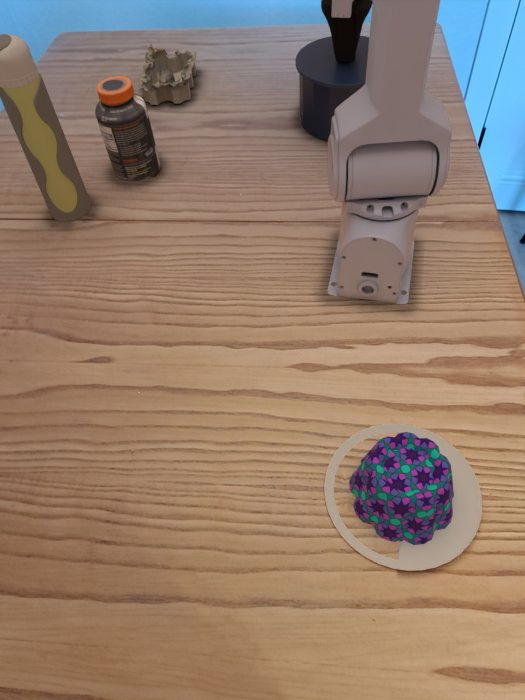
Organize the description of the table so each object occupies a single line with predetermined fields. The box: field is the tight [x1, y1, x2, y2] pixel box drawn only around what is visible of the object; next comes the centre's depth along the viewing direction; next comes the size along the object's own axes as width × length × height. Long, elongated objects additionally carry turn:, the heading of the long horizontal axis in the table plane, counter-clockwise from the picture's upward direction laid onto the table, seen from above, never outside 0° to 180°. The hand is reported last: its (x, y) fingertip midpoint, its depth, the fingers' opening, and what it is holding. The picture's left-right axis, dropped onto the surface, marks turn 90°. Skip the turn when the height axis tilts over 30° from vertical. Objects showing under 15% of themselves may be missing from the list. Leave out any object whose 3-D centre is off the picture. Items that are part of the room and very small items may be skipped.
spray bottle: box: [0, 33, 92, 223], centre depth 61 cm, size 5×5×20 cm
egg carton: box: [139, 43, 197, 106], centre depth 83 cm, size 11×8×4 cm
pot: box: [298, 73, 362, 142], centre depth 74 cm, size 11×11×8 cm
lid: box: [295, 35, 370, 88], centre depth 70 cm, size 12×12×5 cm
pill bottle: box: [94, 75, 161, 182], centre depth 68 cm, size 6×6×11 cm
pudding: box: [323, 422, 483, 572], centre depth 43 cm, size 12×12×5 cm
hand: (346, 54), depth 70 cm, fingers closed on lid, 2 cm apart
